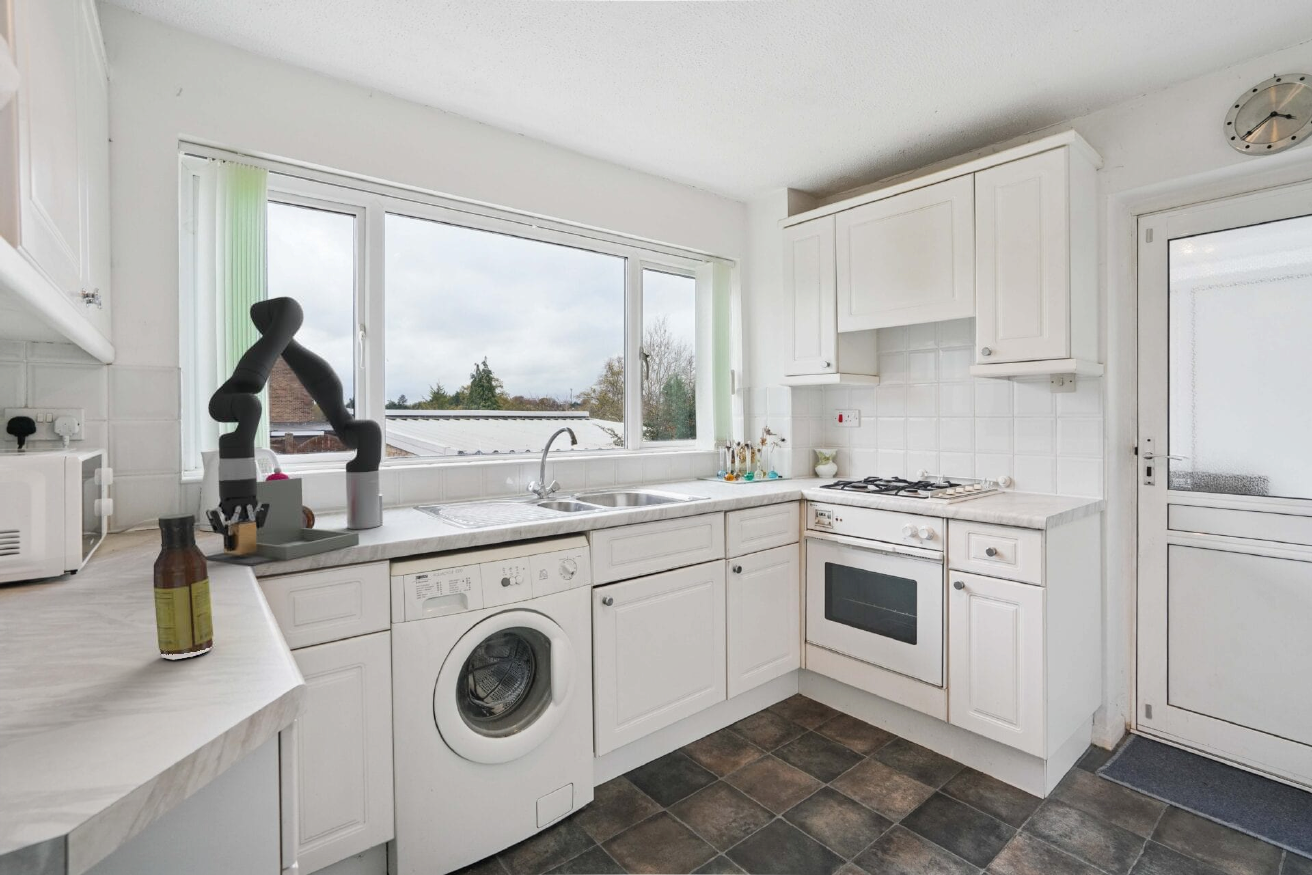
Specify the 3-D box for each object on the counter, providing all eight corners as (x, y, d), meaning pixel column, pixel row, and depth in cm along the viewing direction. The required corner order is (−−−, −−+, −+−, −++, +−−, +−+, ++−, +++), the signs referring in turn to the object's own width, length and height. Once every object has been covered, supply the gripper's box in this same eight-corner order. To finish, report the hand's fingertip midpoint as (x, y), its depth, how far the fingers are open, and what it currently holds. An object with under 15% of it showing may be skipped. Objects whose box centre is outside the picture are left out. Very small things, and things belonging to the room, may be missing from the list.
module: (241, 549, 151) (240, 518, 151) (256, 551, 149) (255, 520, 149) (223, 552, 148) (222, 521, 147) (239, 554, 145) (238, 523, 145)
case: (301, 538, 175) (299, 477, 175) (358, 544, 165) (357, 480, 165) (226, 552, 157) (224, 485, 156) (286, 560, 147) (284, 488, 147)
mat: (230, 553, 155) (230, 551, 155) (277, 560, 147) (277, 557, 147) (204, 559, 149) (203, 556, 149) (251, 565, 142) (251, 563, 142)
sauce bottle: (206, 642, 92) (201, 509, 92) (220, 652, 88) (215, 513, 88) (150, 656, 87) (145, 515, 87) (162, 667, 83) (157, 519, 83)
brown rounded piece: (316, 533, 183) (315, 504, 183) (309, 535, 180) (308, 506, 180) (267, 533, 184) (266, 504, 184) (259, 534, 181) (259, 506, 181)
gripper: (257, 473, 156) (259, 542, 156) (195, 479, 143) (198, 553, 143) (277, 474, 153) (279, 544, 153) (215, 480, 140) (218, 556, 140)
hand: (240, 548), depth 148 cm, fingers closed on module, 4 cm apart
